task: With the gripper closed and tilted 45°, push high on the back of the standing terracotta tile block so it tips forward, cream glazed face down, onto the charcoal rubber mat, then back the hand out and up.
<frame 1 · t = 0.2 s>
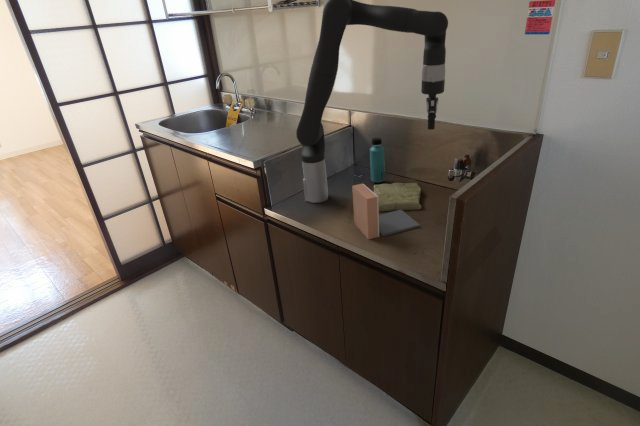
hand: (430, 125, 137), 29 cm above the worktop, tool pointing down, fingers open, 8 cm apart
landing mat: (392, 223, 136), on the worktop
decorative tile: (397, 200, 153), on the worktop
beverage bottle: (378, 183, 169), on the worktop
terracotta tile: (366, 229, 134), on the worktop
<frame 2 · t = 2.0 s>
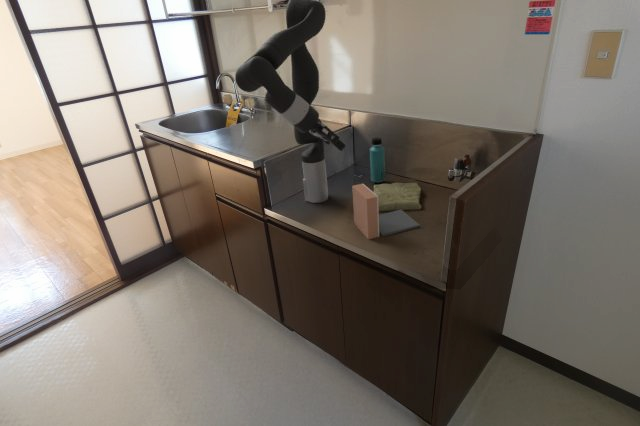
hand: (336, 144, 118), 32 cm above the worktop, tool tilted 45°, fingers open, 8 cm apart
nothing on the worktop moved.
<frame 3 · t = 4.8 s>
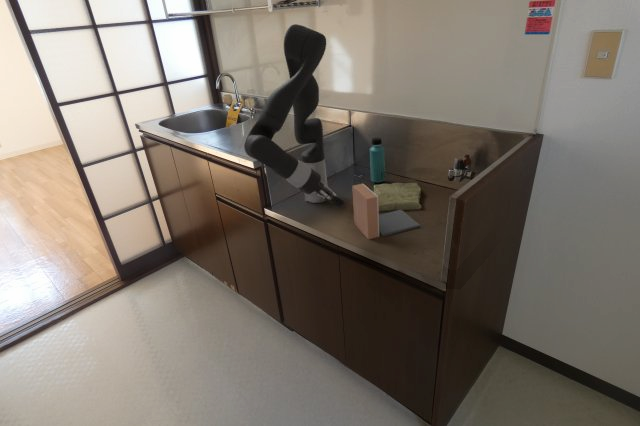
hand: (342, 203, 126), 12 cm above the worktop, tool tilted 45°, fingers closed
nothing on the worktop moved.
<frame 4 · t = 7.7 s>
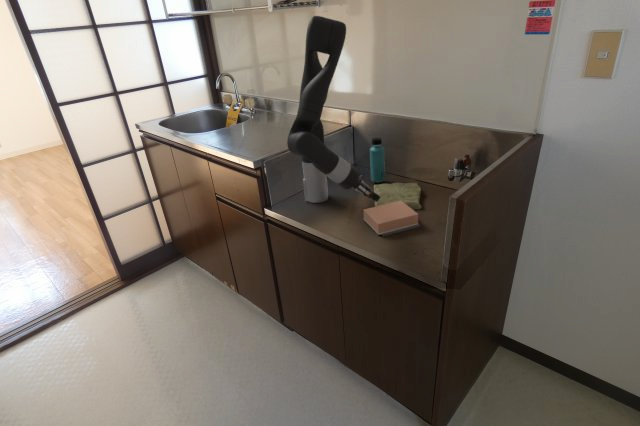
hand: (377, 198, 130), 11 cm above the worktop, tool tilted 45°, fingers closed
terracotta tile: (370, 221, 133), point 3 cm above the worktop, tilted 90°, touching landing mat
everything else where it was.
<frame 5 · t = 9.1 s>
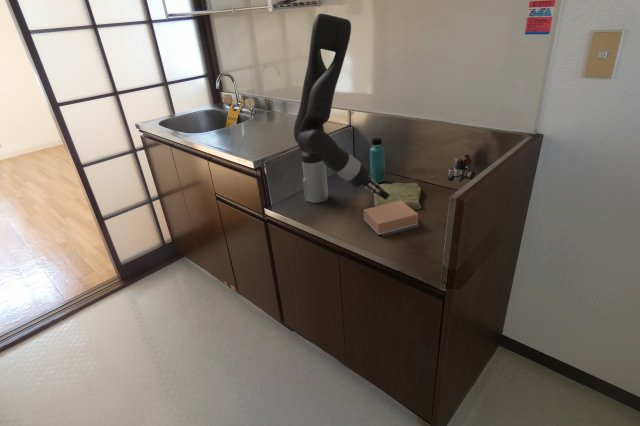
hand: (386, 196, 131), 11 cm above the worktop, tool tilted 45°, fingers closed
nothing on the worktop moved.
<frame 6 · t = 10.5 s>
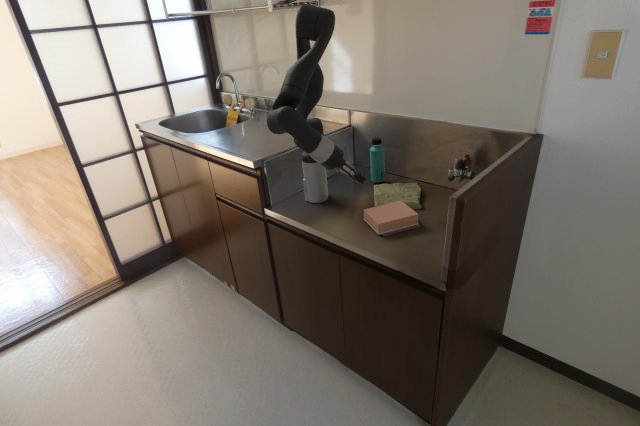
hand: (363, 180, 125), 19 cm above the worktop, tool tilted 45°, fingers closed
nothing on the worktop moved.
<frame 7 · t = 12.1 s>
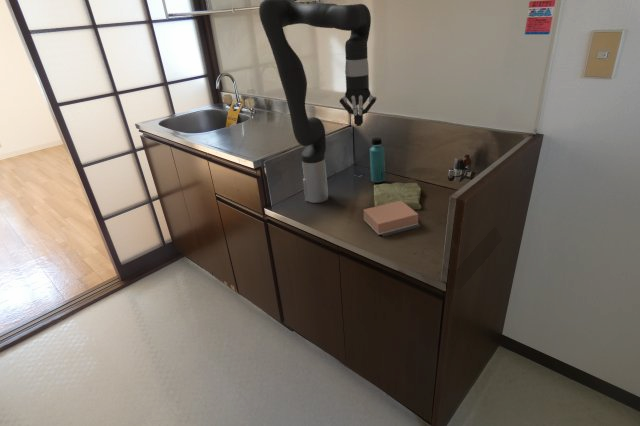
hand: (358, 125, 134), 32 cm above the worktop, tool pointing down, fingers closed
nothing on the worktop moved.
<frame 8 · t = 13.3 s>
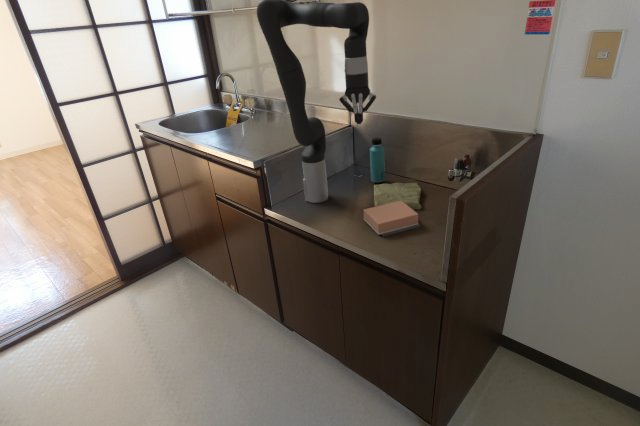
hand: (359, 123, 134), 33 cm above the worktop, tool pointing down, fingers closed
nothing on the worktop moved.
at the end: terracotta tile tilted 90°; terracotta tile touching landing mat; beverage bottle moved 0.2 cm from its start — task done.
